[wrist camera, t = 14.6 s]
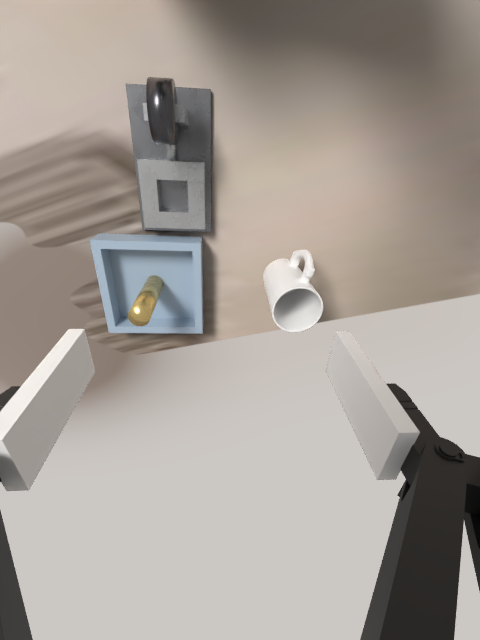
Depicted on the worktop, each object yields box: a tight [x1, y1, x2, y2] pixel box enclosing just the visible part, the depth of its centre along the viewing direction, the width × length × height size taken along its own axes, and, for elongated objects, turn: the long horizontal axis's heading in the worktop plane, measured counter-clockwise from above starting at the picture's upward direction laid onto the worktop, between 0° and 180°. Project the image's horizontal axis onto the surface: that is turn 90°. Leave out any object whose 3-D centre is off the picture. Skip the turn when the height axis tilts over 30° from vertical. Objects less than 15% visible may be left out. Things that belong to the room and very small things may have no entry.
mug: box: [263, 250, 323, 332], centre depth 43 cm, size 10×7×12 cm, turn 163°
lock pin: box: [128, 275, 164, 326], centre depth 43 cm, size 3×3×11 cm
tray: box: [90, 234, 204, 333], centre depth 47 cm, size 15×15×4 cm
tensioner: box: [126, 77, 211, 232], centre depth 37 cm, size 17×10×8 cm, turn 177°
